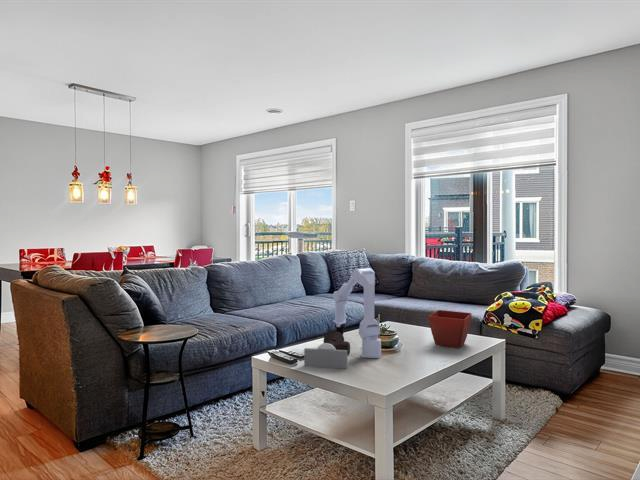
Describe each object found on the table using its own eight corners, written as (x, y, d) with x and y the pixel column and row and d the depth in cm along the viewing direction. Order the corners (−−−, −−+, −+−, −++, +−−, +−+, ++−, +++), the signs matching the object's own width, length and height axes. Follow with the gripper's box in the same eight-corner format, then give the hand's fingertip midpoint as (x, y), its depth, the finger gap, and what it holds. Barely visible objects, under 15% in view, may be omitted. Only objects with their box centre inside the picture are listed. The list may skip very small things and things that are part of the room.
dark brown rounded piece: (347, 342, 231) (350, 330, 245) (318, 342, 234) (323, 331, 248) (349, 360, 233) (352, 347, 247) (320, 360, 236) (324, 347, 250)
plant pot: (464, 351, 241) (464, 319, 240) (427, 346, 251) (428, 315, 250) (471, 343, 258) (472, 312, 257) (437, 338, 267) (437, 309, 267)
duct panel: (347, 366, 216) (347, 344, 215) (346, 368, 213) (346, 346, 212) (305, 364, 220) (305, 342, 220) (304, 366, 217) (304, 343, 216)
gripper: (335, 310, 263) (335, 333, 264) (330, 315, 249) (330, 340, 249) (347, 310, 262) (348, 334, 262) (343, 315, 247) (343, 340, 248)
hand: (340, 337), depth 256 cm, fingers closed
